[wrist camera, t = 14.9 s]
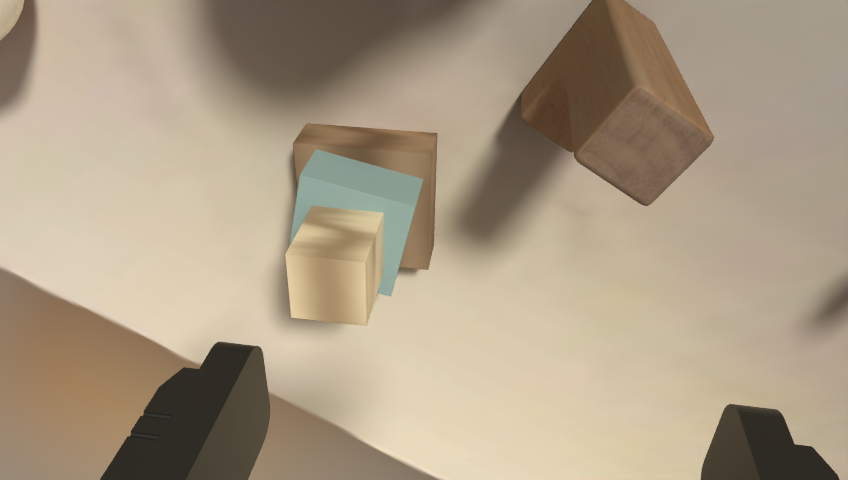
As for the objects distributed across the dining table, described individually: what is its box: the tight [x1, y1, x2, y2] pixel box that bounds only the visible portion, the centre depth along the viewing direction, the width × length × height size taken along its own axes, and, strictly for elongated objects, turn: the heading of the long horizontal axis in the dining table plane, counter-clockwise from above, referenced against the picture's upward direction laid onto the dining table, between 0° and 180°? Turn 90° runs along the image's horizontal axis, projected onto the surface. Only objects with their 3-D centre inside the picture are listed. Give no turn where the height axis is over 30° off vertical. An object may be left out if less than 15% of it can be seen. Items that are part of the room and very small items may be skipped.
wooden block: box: [521, 0, 714, 206], centre depth 39 cm, size 9×4×18 cm, turn 148°
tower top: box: [286, 149, 423, 296], centre depth 50 cm, size 8×8×4 cm
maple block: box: [285, 206, 384, 326], centre depth 45 cm, size 5×5×6 cm
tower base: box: [293, 124, 437, 270], centre depth 53 cm, size 10×10×4 cm
